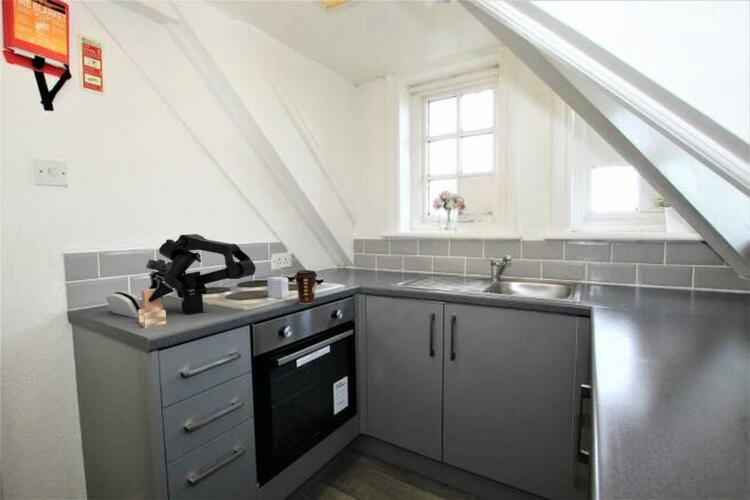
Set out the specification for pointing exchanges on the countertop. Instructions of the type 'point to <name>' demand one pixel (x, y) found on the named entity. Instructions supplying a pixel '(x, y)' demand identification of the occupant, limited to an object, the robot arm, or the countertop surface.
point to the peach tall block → (155, 303)
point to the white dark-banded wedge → (124, 303)
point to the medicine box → (278, 287)
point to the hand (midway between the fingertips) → (147, 300)
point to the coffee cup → (306, 286)
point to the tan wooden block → (151, 317)
